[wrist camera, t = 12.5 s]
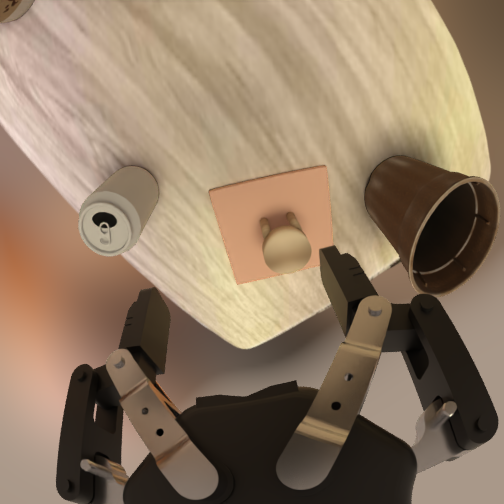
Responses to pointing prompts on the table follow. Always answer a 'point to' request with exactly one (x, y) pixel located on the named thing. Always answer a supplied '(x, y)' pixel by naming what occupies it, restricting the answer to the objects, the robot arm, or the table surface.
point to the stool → (285, 246)
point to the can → (118, 211)
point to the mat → (272, 217)
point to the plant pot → (434, 221)
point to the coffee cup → (13, 9)
